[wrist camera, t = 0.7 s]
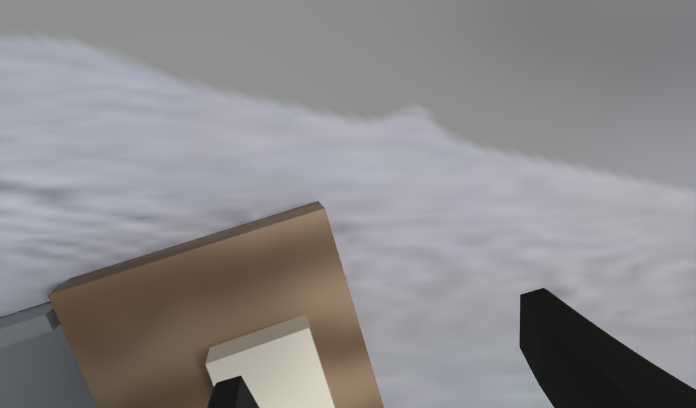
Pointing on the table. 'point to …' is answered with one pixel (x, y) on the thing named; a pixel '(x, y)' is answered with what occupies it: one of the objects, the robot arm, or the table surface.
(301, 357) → the tile
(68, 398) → the box
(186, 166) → the table surface
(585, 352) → the robot arm
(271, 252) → the drawer casing
